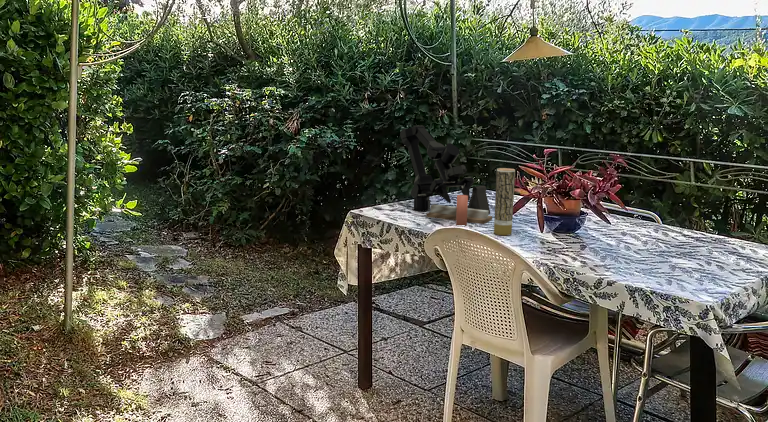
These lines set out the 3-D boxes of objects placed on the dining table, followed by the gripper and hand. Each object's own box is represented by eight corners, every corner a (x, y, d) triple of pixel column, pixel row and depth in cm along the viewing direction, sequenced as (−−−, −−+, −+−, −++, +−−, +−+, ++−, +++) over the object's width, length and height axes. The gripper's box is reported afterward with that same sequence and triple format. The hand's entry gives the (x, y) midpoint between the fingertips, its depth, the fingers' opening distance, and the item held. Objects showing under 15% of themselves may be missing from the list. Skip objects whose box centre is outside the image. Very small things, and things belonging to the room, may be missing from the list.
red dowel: (454, 225, 265) (455, 196, 263) (458, 223, 269) (459, 194, 267) (464, 226, 263) (465, 197, 261) (468, 224, 267) (469, 195, 265)
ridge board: (426, 217, 280) (426, 206, 279) (435, 212, 289) (435, 202, 288) (483, 224, 268) (484, 213, 267) (492, 219, 277) (492, 209, 276)
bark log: (511, 236, 248) (515, 171, 243) (493, 235, 249) (496, 170, 244) (511, 232, 254) (515, 168, 249) (494, 231, 256) (497, 167, 251)
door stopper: (490, 213, 289) (491, 186, 286) (481, 215, 285) (482, 188, 283) (475, 210, 296) (476, 184, 293) (466, 211, 292) (467, 185, 289)
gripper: (434, 159, 263) (448, 190, 256) (472, 157, 272) (487, 187, 264) (423, 176, 272) (437, 207, 264) (461, 174, 280) (475, 203, 273)
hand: (459, 201), depth 266 cm, fingers open, 9 cm apart
